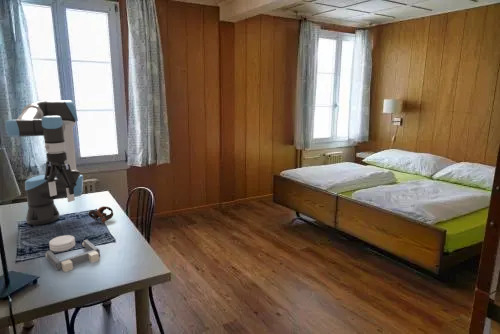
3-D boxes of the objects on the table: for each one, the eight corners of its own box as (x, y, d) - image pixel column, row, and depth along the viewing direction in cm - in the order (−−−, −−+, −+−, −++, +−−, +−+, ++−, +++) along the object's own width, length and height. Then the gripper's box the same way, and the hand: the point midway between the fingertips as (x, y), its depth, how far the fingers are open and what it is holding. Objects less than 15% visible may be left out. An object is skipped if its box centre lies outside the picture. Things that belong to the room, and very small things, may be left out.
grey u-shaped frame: (45, 256, 139) (44, 250, 139) (86, 244, 150) (85, 238, 150) (60, 273, 127) (59, 266, 126) (103, 258, 138) (102, 252, 137)
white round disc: (48, 245, 149) (47, 238, 149) (73, 240, 155) (72, 233, 154) (51, 254, 141) (50, 247, 141) (77, 248, 147) (76, 240, 146)
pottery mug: (111, 215, 185) (114, 205, 181) (111, 229, 178) (114, 218, 174) (87, 214, 179) (90, 203, 175) (86, 227, 172) (89, 216, 168)
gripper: (31, 150, 148) (38, 195, 154) (64, 157, 136) (70, 206, 141) (48, 147, 155) (54, 191, 160) (81, 153, 142) (87, 200, 148)
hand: (62, 198), depth 151 cm, fingers open, 13 cm apart
